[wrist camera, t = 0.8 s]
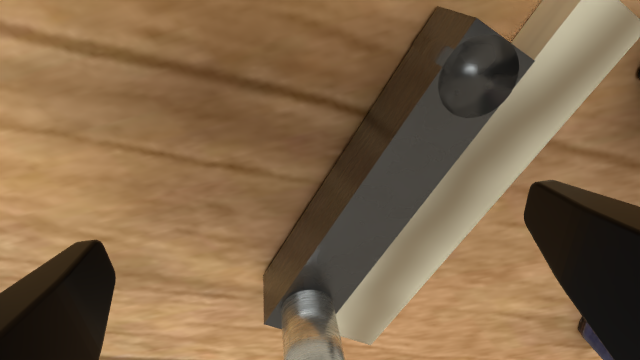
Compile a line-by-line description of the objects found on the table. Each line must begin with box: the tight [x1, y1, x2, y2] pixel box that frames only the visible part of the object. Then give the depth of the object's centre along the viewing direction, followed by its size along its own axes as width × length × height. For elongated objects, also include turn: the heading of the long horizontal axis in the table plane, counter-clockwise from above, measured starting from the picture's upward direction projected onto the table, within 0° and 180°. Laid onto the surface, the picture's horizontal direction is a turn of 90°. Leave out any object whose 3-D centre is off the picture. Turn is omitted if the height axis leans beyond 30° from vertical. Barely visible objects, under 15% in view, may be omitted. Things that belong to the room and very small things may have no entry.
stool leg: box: [263, 7, 535, 360], centre depth 20 cm, size 19×4×9 cm, turn 150°
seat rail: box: [336, 0, 640, 345], centre depth 24 cm, size 4×24×2 cm, turn 150°
